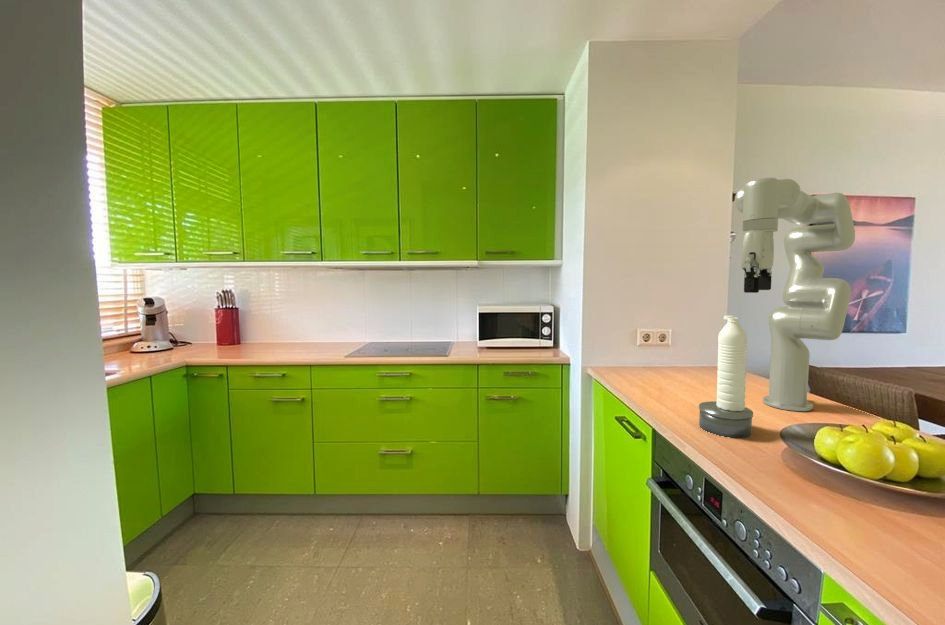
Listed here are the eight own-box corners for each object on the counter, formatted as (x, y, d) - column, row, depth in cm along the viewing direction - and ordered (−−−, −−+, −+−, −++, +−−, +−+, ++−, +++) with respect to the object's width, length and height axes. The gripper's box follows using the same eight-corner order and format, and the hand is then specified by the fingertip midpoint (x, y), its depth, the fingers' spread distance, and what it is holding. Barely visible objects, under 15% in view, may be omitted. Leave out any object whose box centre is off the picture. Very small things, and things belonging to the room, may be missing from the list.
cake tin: (708, 418, 115) (709, 398, 115) (758, 430, 106) (759, 409, 105) (690, 429, 108) (691, 408, 107) (743, 443, 98) (744, 420, 97)
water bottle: (747, 412, 102) (751, 318, 100) (719, 410, 105) (721, 318, 103) (738, 402, 110) (741, 315, 108) (712, 400, 113) (714, 315, 111)
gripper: (754, 229, 111) (752, 288, 113) (731, 227, 101) (729, 293, 103) (787, 226, 106) (784, 289, 107) (766, 224, 95) (763, 293, 97)
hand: (757, 291), depth 105 cm, fingers open, 9 cm apart
